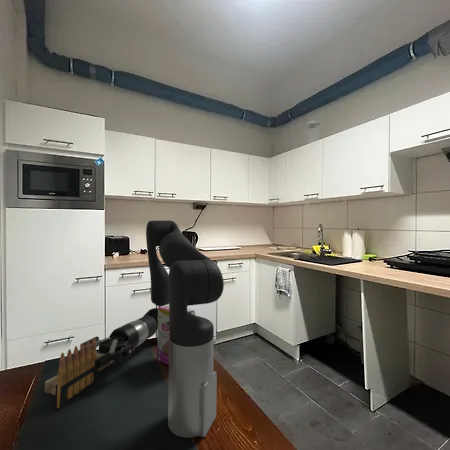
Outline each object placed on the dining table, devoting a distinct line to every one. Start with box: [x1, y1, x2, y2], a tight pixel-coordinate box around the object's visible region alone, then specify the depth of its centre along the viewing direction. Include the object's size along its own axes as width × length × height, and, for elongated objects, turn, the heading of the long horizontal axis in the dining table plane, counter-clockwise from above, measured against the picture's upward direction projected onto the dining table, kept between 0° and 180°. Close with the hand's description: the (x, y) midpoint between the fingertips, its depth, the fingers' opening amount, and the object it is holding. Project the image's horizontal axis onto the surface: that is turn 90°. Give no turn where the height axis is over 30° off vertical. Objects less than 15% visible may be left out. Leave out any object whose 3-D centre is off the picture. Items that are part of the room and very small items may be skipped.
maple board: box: [44, 354, 112, 396], centre depth 69 cm, size 5×16×2 cm, turn 160°
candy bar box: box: [156, 304, 196, 367], centre depth 77 cm, size 11×5×16 cm, turn 58°
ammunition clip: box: [53, 336, 99, 411], centre depth 61 cm, size 11×2×12 cm, turn 162°
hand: (83, 361), depth 63 cm, fingers open, 7 cm apart
